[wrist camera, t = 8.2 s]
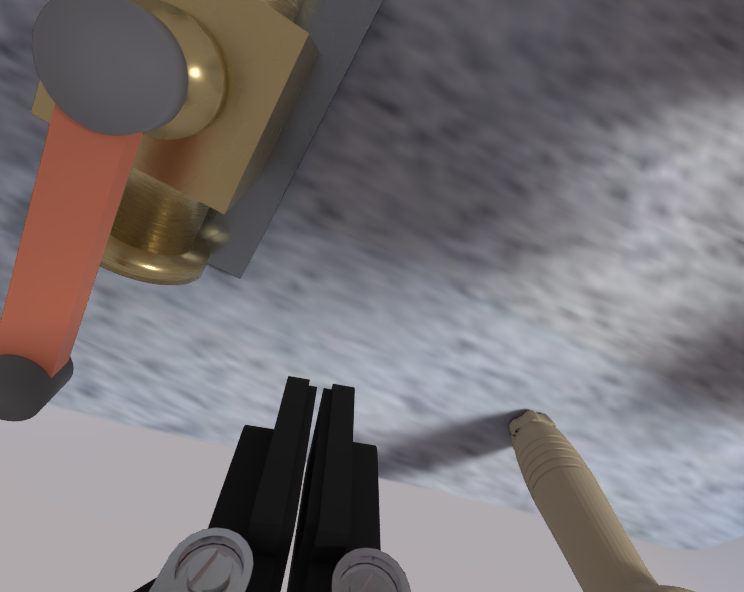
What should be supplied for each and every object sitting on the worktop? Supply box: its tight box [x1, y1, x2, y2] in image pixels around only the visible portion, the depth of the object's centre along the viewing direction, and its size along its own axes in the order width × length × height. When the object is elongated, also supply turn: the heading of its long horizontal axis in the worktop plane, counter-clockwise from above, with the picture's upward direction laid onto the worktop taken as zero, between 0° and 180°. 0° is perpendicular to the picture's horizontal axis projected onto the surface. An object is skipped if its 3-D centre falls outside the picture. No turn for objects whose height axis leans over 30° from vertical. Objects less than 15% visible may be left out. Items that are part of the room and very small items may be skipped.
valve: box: [31, 0, 383, 285], centre depth 17 cm, size 18×10×11 cm, turn 149°
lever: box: [0, 0, 189, 421], centre depth 13 cm, size 13×3×2 cm, turn 151°
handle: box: [509, 410, 694, 592], centre depth 26 cm, size 5×6×15 cm
